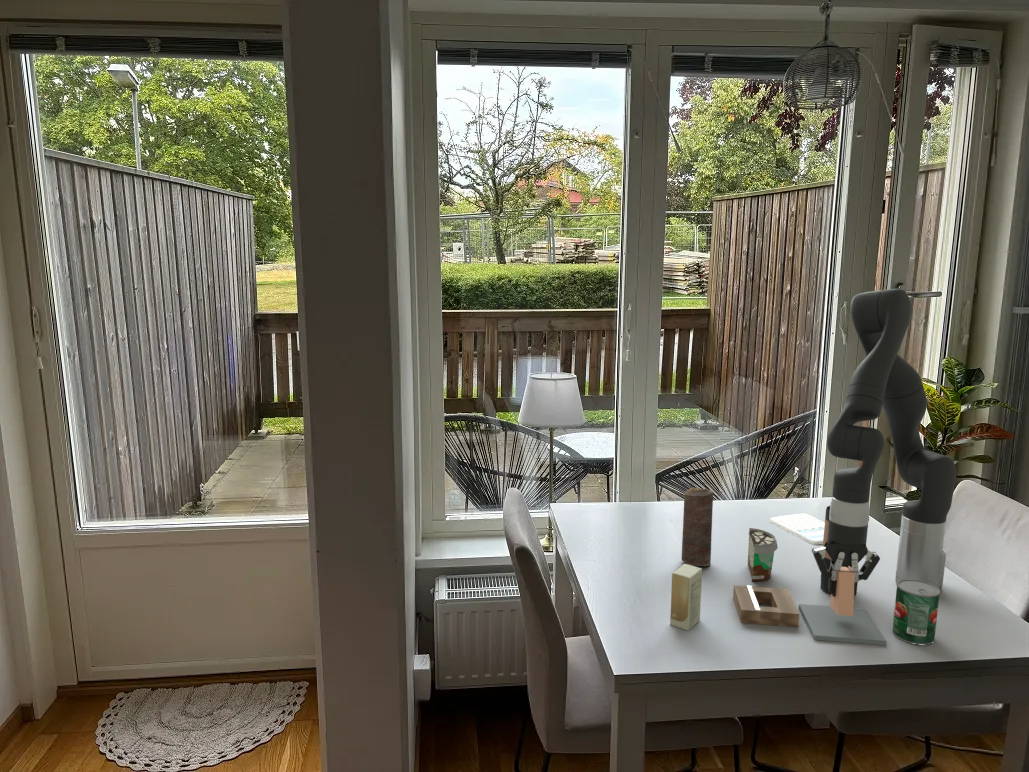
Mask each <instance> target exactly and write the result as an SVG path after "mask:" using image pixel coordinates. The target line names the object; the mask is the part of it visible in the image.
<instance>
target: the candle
mask: <svg viewBox="0 0 1029 772" xmlns="http://www.w3.org/2000/svg"><path fill="white" fill-rule="evenodd" d="M713 504H714V491H713V490H712V489H709V488H700V487H691V488H689V489H686V491H685V492H684V498H683V516H682V517H683V518H682V519H683V520H682V536H681V539H682V541H681V561H682V562H684V563H685V564H688V565H691V566H695V567H708V566H711V563H712V562H711V560H712V536H713V535H712V534H713V533H712V532H713V530H712V528H713V506H714V505H713Z"/></svg>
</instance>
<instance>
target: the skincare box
mask: <svg viewBox="0 0 1029 772" xmlns="http://www.w3.org/2000/svg"><path fill="white" fill-rule="evenodd" d="M702 581H703V568H702V567H699V566H696V565H690V564H688V563H683V564H682V565H680V566H679V567H678V568H676V569H675V570H673V571H672V573H671V592H670V593H671V594H670V595H671V597H670V598H671V599H670V622H669V623H670V624H669V625H670V626H673V627H676V628H679V629H682V630H685V631H689V630H691V629H692V628H693V627H694V626H695V625H696V624H697V623H698V622H700V621H701V602H702Z"/></svg>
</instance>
